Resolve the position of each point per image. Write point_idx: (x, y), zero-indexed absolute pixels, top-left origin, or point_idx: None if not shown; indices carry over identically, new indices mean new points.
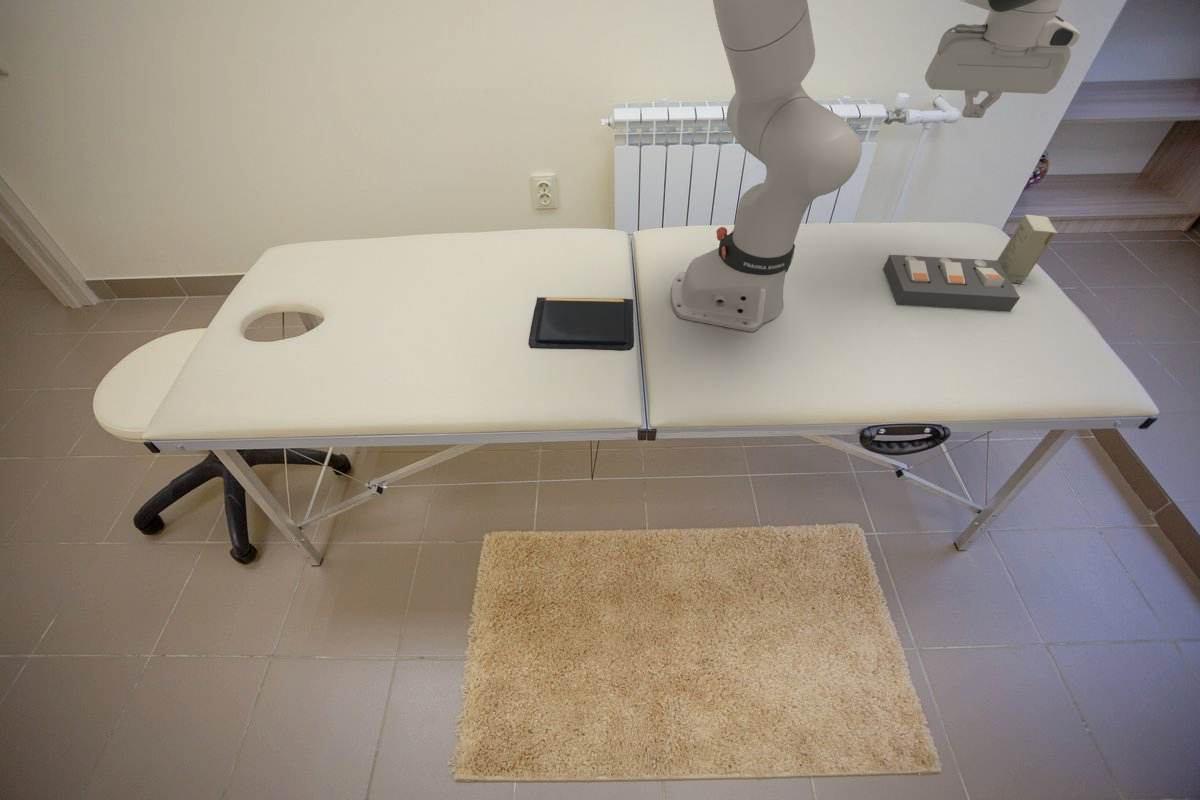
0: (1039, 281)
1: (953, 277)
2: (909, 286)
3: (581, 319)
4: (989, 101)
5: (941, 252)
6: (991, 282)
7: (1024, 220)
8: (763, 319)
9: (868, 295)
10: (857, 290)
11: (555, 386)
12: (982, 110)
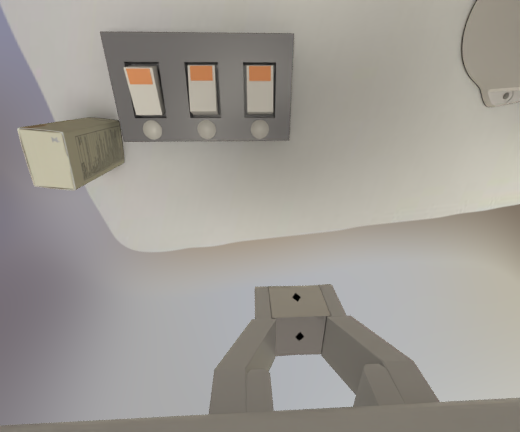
0: None
1: (206, 75)
2: (281, 48)
3: None
4: (260, 353)
5: (194, 184)
6: (144, 66)
7: (77, 178)
8: None
9: (325, 63)
10: (338, 75)
11: None
12: (273, 309)
